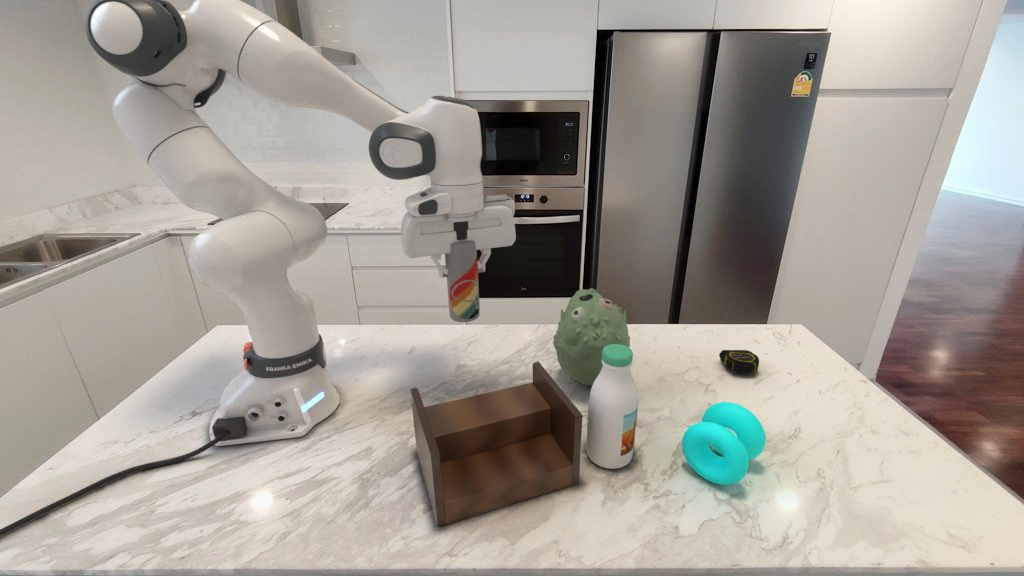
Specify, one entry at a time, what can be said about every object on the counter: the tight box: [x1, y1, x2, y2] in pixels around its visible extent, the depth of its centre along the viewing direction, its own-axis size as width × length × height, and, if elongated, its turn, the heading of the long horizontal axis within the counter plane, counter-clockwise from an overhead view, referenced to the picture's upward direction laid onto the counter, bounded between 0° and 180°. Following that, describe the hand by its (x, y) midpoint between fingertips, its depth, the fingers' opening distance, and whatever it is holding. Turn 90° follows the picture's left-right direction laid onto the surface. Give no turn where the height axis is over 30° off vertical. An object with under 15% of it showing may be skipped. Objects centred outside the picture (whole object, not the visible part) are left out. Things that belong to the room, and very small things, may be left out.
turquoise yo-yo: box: [681, 401, 767, 486], centre depth 76 cm, size 10×10×10 cm
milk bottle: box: [585, 344, 639, 470], centre depth 77 cm, size 8×8×20 cm
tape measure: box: [718, 349, 760, 376], centre depth 104 cm, size 7×7×4 cm
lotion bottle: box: [444, 221, 481, 323], centre depth 87 cm, size 6×6×20 cm
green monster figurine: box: [553, 288, 631, 386], centre depth 98 cm, size 16×19×20 cm
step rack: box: [409, 361, 583, 527], centre depth 76 cm, size 22×16×13 cm
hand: (461, 273), depth 87 cm, fingers closed on lotion bottle, 5 cm apart
